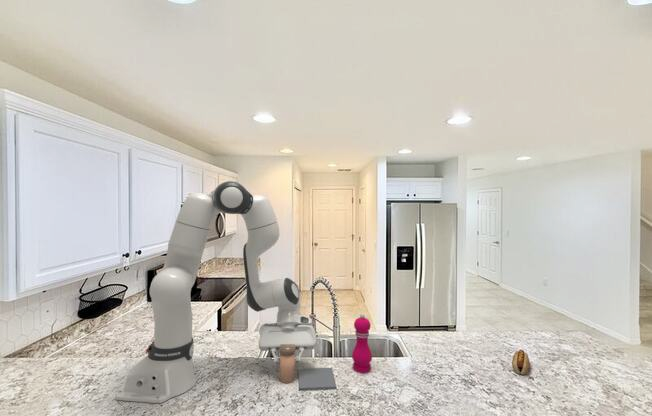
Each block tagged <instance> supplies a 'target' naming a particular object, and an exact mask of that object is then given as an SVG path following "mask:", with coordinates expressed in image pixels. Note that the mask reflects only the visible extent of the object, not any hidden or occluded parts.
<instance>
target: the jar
mask: <svg viewBox="0 0 652 416" xmlns="http://www.w3.org/2000/svg"><path fill="white" fill-rule="evenodd" d="M278 351H279V353H278V354H279V382H281V383H283V384H290V383H292V382H294V380H295V370H296V369H295V368H296V365H295V364H296V358H295V357H296V350H295V344H281V345H280V349H279V350H278Z"/></svg>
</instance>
